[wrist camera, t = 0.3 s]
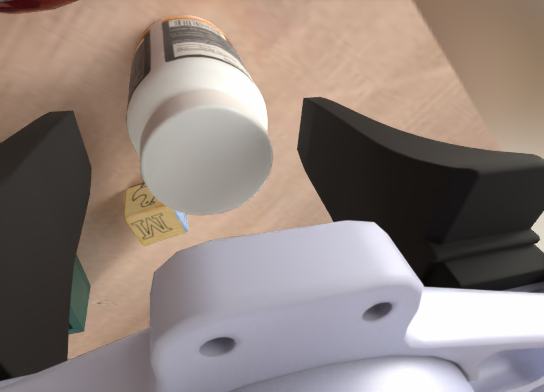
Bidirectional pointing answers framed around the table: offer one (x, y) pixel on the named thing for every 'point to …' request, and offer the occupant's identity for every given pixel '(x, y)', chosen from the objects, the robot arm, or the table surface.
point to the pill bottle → (196, 118)
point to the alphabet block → (151, 216)
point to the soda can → (30, 5)
